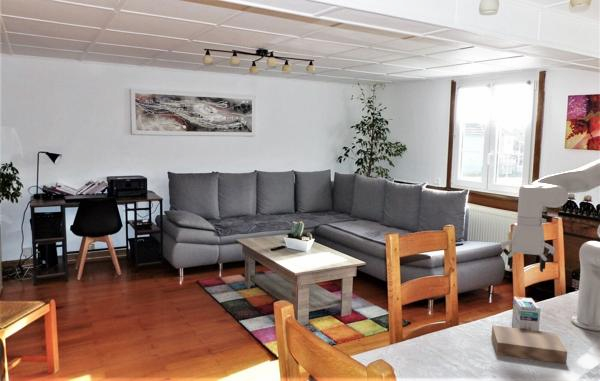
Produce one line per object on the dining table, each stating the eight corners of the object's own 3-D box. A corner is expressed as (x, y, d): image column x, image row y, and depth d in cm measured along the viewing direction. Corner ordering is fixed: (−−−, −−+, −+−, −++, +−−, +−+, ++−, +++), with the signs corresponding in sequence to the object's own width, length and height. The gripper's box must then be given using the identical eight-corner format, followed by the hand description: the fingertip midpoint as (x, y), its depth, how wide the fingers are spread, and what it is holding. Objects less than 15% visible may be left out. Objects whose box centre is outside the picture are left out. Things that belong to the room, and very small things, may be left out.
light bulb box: (538, 338, 162) (541, 308, 161) (518, 336, 163) (520, 306, 162) (530, 325, 173) (532, 297, 171) (510, 323, 174) (513, 296, 172)
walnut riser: (555, 344, 157) (556, 333, 157) (566, 363, 144) (567, 351, 143) (491, 336, 163) (492, 325, 162) (496, 354, 149) (497, 342, 149)
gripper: (555, 221, 161) (552, 269, 163) (501, 217, 167) (498, 263, 169) (559, 225, 154) (555, 275, 156) (502, 221, 160) (499, 269, 162)
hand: (525, 269), depth 163 cm, fingers open, 9 cm apart
